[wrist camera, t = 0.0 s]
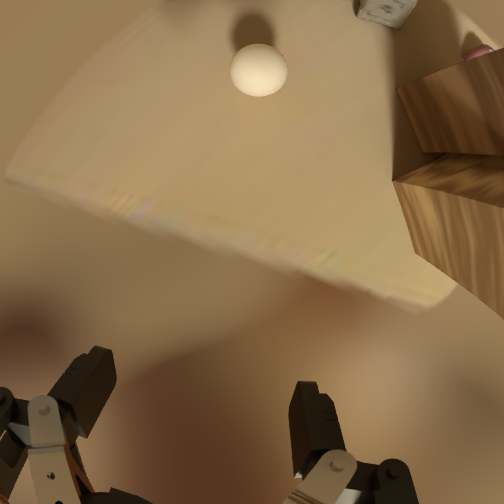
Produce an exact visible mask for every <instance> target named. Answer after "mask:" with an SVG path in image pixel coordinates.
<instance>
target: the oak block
mask: <svg viewBox="0 0 504 504" xmlns="http://www.w3.org/2000/svg"><path fill="white" fill-rule="evenodd" d="M392 182H393V184H394V187H395V190H396V193H397V195H398V198H399V201H400V204H401V207H402V210H403V213H404V216H405V220H406V223H407V226H408V229H409V233H410V236H411V240H412V243H413V247H414V251H415V253H416V254H417V255H419V256H420V257H422V258H423V259H425V260H426V261H428V262H429V263H431V264H432V265H434V266H435V267H436V268H438V269H439V270H441V271H442V272H443V273H445V274H446V275H448V276H449V277H450V278H452V279H453V280H454V281H456V282H457V283H459V284H460V285H461V286H463V287H464V288H465V289H467V290H468V291H469V292H471V293H472V294H473V295H475V296H476V297H477V298H478V299H480V300H481V301H482V302H483V303H485V304H486V305H487V306H488V307H490V308H491V309H492V310H493V311H495V312H496V313H497V314H498V315H499V316H501V317H502V318H503V319H504V156H498V155H486V154H471V153H449V154H447V155H445V156H443V157H441V158H439V159H437V160H435V161H433V162H431V163H428V164H426V165H424V166H422V167H420V168H418V169H416V170H414V171H412V172H410V173H408V174H406V175H403V176H401V177H399V178H397V179H395V180H393V181H392Z"/></svg>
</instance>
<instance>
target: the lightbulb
mask: <svg viewBox="0 0 504 504" xmlns="http://www.w3.org/2000/svg"><path fill="white" fill-rule="evenodd" d="M229 74H230V77H231V80H232V82H233V84H234V85H235V86H236V87H237V88H238V89H239V90H240V91H242V92H243V93H245V94H248V95H251V96H266V95H270V94H272V93H274V92H276V91H277V90H279V89H280V88H281V87H282V86H283V84H284V83H285V81H286V78H287V74H288V66H287V63H286V60H285V58H284V56H283V55H282V54H281V53H280V52H279V51H278V50H276V49H275V48H273V47H271V46H269V45H266V44H251V45H248V46H245V47H243V48H242V49H240V50H239V51H238V52H237V53H236V54H235V55H234V56H233V58H232V60H231V62H230V67H229Z"/></svg>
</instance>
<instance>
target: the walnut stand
mask: <svg viewBox="0 0 504 504" xmlns="http://www.w3.org/2000/svg"><path fill="white" fill-rule="evenodd" d="M396 91H397V93H398V95H399V97H400V100H401V102H402V104H403V106H404V108H405V110H406V112H407V115H408V117H409V119H410V122H411V124H412V126H413V129H414V131H415V134H416V136H417V138H418V141H419V144H420V146H421V149H422V152H448V153H471V154H486V155H498V156H504V48H502V49H499V50H495V51H492V52H489V53H486V54H483V55H480V56H477V57H475V58H472V59H469V60H466V61H463V62H461V63H458V64H455V65H453V66H450V67H448V68H445V69H443V70H440V71H438V72H435V73H433V74H430V75H428V76H425V77H423V78H421V79H418V80H416V81H414V82H411V83H409V84H407V85H405V86H402V87H400V88H398V89H396Z"/></svg>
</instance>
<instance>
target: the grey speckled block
mask: <svg viewBox="0 0 504 504" xmlns="http://www.w3.org/2000/svg"><path fill="white" fill-rule="evenodd" d="M417 2H418V0H360V7H359V8H358V12H357V17H358V18H361V19H364V20H369V21H373V22H376V23H380V24H383V25H386V26H389V27H392V28H395V29H400V28H401V26H402V25H403V23H404V21H405V20H406V19H407V17H408V15H409V14H410V13H411V12H412V10H413V9H414V8H415V6H416V5H417Z"/></svg>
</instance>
